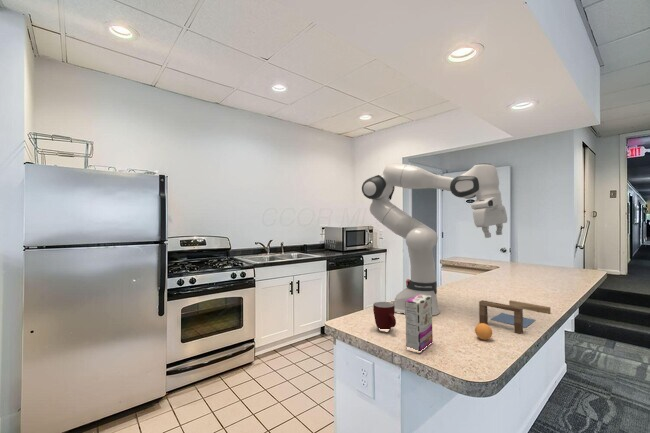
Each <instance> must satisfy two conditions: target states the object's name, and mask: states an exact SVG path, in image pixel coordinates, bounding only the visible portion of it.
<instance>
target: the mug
mask: <svg viewBox="0 0 650 433" xmlns="http://www.w3.org/2000/svg"><path fill="white" fill-rule="evenodd" d="M393 303H394V302H390V301H389V302H388V301H375V302H373V306H372V308H373V315H374V316H373V317H374V320H375V322H374V323H375V325H376V327H377V329H378V328H380V329H390V330H391V329H392V328H395V327H396V326H397V325H396V324H397V321H396V320H397V319H396V317H395V314H396V313H395V307H394V304H393Z"/></svg>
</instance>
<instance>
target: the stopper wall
mask: <svg viewBox="0 0 650 433" xmlns="http://www.w3.org/2000/svg"><path fill="white" fill-rule="evenodd" d="M508 303H509V304H508V305H511V306H516V307H521V308H523V310H528V311H533V312H538V313H543V314H549V315H550V314H551V306H546V305H539V304H533V303H528V302H522V301H517V300H511V299H510V300H509V302H508Z"/></svg>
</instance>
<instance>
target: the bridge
mask: <svg viewBox="0 0 650 433" xmlns="http://www.w3.org/2000/svg"><path fill="white" fill-rule="evenodd" d="M490 307H491V308H495V309H501V310H505V311H510V312H513V315H514V325H513V327H514V328H513V332H514V334H517V335H521V334H523V333H524V327H523V317H524V313H523V312H524V311H523V310H524V309H523V308H521V307H516V306H511V305H509V304H504V303H500V302H499V303H498V302H493V301H489V300H483V299H482V300H479V301H478V310H479V311H478V312H479V313H478V314H479V315H478V319H479V322H478V324H480V323H485V324H487V325H488V323H489V322H488V319H489V318H488V317H489V316H488V308H490Z"/></svg>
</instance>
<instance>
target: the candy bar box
mask: <svg viewBox="0 0 650 433" xmlns="http://www.w3.org/2000/svg"><path fill="white" fill-rule="evenodd" d="M404 315H405V341H406V343H405V344H406V346H407V347H410V348H413V349H415V350H418V351H421V350H422V349H424V348H425V347H426V346H428V345H429V344H430V343H432V342H433V343H434V341H433V315H432V302H431V296H428V295H422V294H418V295H416V296H414V297H412V298H410V299H408V300H406V301H405V314H404ZM433 343H432V344H433Z"/></svg>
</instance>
